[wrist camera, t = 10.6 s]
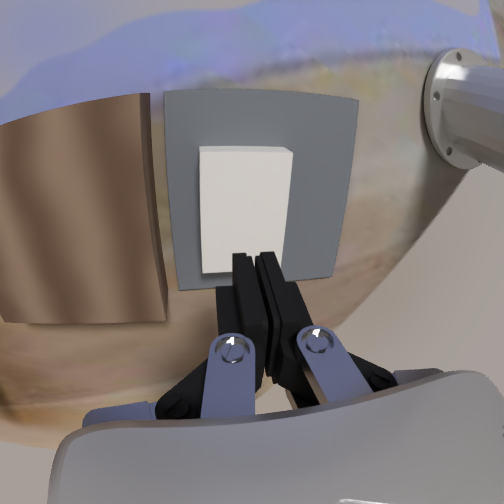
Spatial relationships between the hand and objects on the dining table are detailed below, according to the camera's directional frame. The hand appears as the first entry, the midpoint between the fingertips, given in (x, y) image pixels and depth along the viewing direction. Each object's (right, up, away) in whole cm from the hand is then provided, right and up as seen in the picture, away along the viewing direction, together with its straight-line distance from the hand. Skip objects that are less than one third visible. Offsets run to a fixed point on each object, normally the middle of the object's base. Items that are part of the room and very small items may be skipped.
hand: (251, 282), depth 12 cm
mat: (+1, +5, +10) cm, 11 cm away
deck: (-15, +4, +7) cm, 17 cm away
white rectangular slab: (0, +4, +8) cm, 9 cm away
